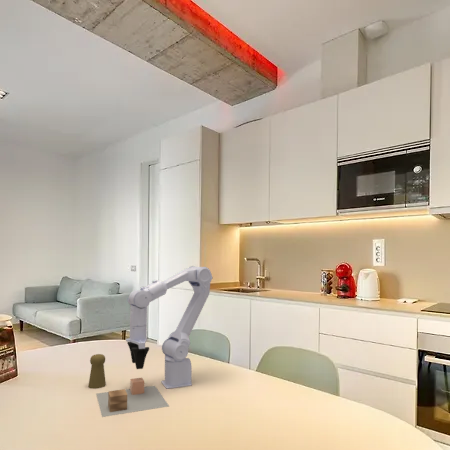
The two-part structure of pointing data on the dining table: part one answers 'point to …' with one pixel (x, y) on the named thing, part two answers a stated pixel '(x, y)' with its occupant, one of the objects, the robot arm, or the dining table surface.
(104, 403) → the mat
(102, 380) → the olive pawn
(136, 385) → the cube
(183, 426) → the dining table surface
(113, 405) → the tower bottom
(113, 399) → the tower top
